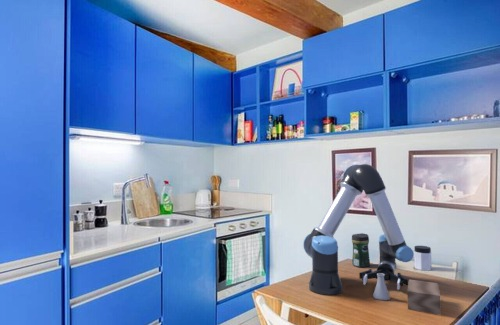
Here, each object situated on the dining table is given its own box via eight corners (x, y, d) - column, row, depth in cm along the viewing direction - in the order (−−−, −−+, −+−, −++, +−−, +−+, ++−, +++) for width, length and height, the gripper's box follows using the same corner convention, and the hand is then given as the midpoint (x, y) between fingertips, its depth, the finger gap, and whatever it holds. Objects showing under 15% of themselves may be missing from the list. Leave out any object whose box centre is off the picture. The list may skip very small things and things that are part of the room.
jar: (435, 269, 175) (434, 248, 175) (424, 271, 172) (424, 249, 173) (421, 265, 183) (421, 244, 184) (411, 267, 180) (410, 246, 181)
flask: (392, 301, 131) (391, 277, 131) (374, 300, 132) (373, 276, 133) (388, 295, 138) (387, 272, 139) (371, 294, 140) (370, 271, 140)
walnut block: (407, 309, 123) (407, 291, 124) (409, 295, 137) (408, 279, 138) (440, 314, 118) (440, 295, 118) (438, 300, 132) (438, 283, 132)
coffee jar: (362, 263, 190) (361, 232, 191) (372, 266, 183) (371, 234, 183) (349, 264, 186) (349, 233, 187) (359, 268, 179) (358, 235, 179)
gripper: (414, 282, 147) (413, 297, 129) (359, 275, 159) (351, 288, 141) (414, 266, 148) (413, 279, 129) (358, 260, 160) (350, 271, 141)
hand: (380, 283), depth 135 cm, fingers open, 13 cm apart
